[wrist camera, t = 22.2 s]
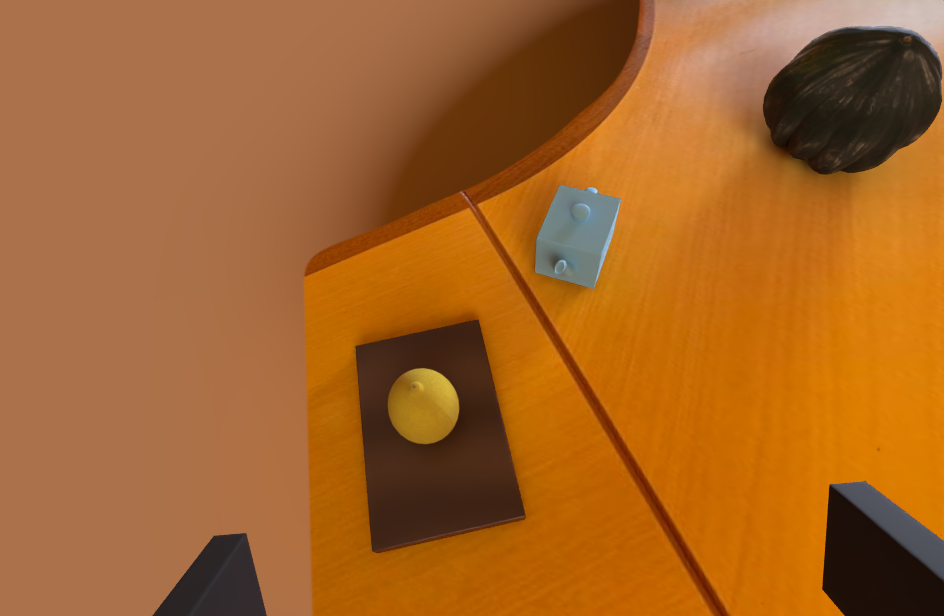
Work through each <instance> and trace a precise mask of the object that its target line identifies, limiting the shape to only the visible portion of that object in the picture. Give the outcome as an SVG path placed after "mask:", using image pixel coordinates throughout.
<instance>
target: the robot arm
mask: <svg viewBox="0 0 944 616" xmlns="http://www.w3.org/2000/svg"><path fill="white" fill-rule="evenodd" d="M822 589H823V591H824V592H825V593H826V594H827V595H828V597H829V598H830V599H831V600H832V601H833V602H834V604H835V605H836V606H837V607H838V608H839V609H840V611H841V612H842V613H843V614H844V615H845V616H944V541H943V540H942V539H940V538H939V537H938V536H936V535H935V534H934V533H933V532H931V531H930V530H929V529H927V528H926V527H925V526H923V525H922V524H921V523H919V522H918V521H917V520H915V519H914V518H913V517H912V516H910V515H909V514H908V513H906V512H905V511H904V510H902V509H901V508H900V507H898V506H897V505H896V504H894V503H893V502H892V501H890V500H889V499H888V498H887V497H885V496H884V495H883V494H881V493H880V492H879V491H877V490H876V489H875V488H873V487H872V486H871V485H869V484H868V483H867V482H866V481H865V482H853V483H841V484H830V485H829V500H828V514H827V529H826V543H825V558H824V572H823V587H822ZM153 616H267V615H266V611H265V608H264V603H263V599H262V595H261V591H260V587H259V583H258V579H257V575H256V571H255V567H254V563H253V559H252V555H251V551H250V547H249V543H248V539H247V535H246V533H242V534H231V535H219V536H213V538H212V539H211V540H210V542H209V543H208V544H207V545H206V547H205V548H204V549H203V551H202V552H201V553H200V555H199V556H198V557H197V559H196V560H195V561H194V562H193V564H192V565H191V566H190V568H189V569H188V570H187V572H186V573H185V574H184V575H183V577H182V578H181V579H180V581H179V582H178V583H177V585H176V586H175V587H174V589H173V590H172V591H171V592H170V594H169V595H168V596H167V598H166V599H165V600H164V601H163V603H162V604H161V605H160V607H159V608H158V609H157V611H156V612H155V613H154V615H153Z"/></svg>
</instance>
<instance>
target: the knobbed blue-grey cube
mask: <svg viewBox="0 0 944 616" xmlns="http://www.w3.org/2000/svg"><path fill="white" fill-rule="evenodd" d="M620 203H621V199H620V198H615V197H610V196H606V195H602V194H598V193H597V190H596V189H595V188H587V189H586V190H580V189H576V188H571V187H567V186H562V185H560V186H559V188H558V191H557V193H556V195H555V197H554V200H553V202H552V204H551V206H550V209H549V211H548V213H547V216H546V218H545V220H544V222H543V225H542V227H541V229H540V231H539V234H538V236H537V238H536V262H535V273H539V274H542V275H546V276H549V277H553V278H557V279H560V280H564V281H567V282H571V283H574V284H578V285H581V286H585V287H588V288H592V289H594V287H595V284H596V282H597V279H598V276H599V273H600V270H601V267H602V264H603V262H604V259H605V256H606V253H607V250H608V247H609V244H610V241H611V238H612V236H613V232H614V227H615V223H616V219H617V215H618V211H619V207H620Z"/></svg>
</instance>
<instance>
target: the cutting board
mask: <svg viewBox="0 0 944 616" xmlns="http://www.w3.org/2000/svg"><path fill="white" fill-rule="evenodd" d="M356 359H357V371H358V383H359V396H360V408H361V420H362V432H363V445H364V457H365V469H366V481H367V494H368V506H369V518H370V530H371V543H372V551H373V552H375V553H381V552H386V551H390V550H394V549H399V548H403V547H407V546H412V545H416V544H420V543H425V542H429V541H433V540H438V539H442V538H446V537H451V536H455V535H459V534H464V533H468V532H473V531H477V530H481V529H486V528H490V527H494V526H499V525H503V524H507V523H512V522H516V521H520V520H525V512H524V508H523V503H522V499H521V495H520V491H519V487H518V483H517V478H516V474H515V470H514V466H513V462H512V458H511V453H510V449H509V445H508V441H507V437H506V433H505V428H504V424H503V420H502V416H501V412H500V408H499V403H498V399H497V395H496V391H495V387H494V382H493V378H492V374H491V370H490V366H489V362H488V357H487V353H486V349H485V345H484V341H483V337H482V332H481V328H480V324H479V320H474V321H469V322H464V323H460V324H455V325H451V326H446V327H441V328H437V329H432V330H428V331H423V332H419V333H414V334H409V335H405V336H400V337H396V338H391V339H386V340H382V341H377V342H373V343H368V344H363V345H359V346H356ZM420 368H425V369H431V370H434V371H436V372H438V373H440V374H442V375H443V376H444V377H445V378H446V379H448V380H449V382H450V383H451V384H452V386H453V387H454V389H455V391H456V393H457V396H458V399H459V414H458V420H457V422H456V424H455V426H454V428H453V429H452V430H451V432H450V433H449V434H448V435H447V436H446V437H444V438H443V439H442V440H439V441H437V442H435V443H430V444H419V443H415V442H412V441H409V440H407V439H406V438H404V437H403V436H402V435H400V434H399V432H398V431H397V430H396V429H395V427H394V426H393V424H392V422H391V419H390V417H389V412H388V397H389V393H390V390H391V388H392V386H393V384H394V383H395V382H396V380H397V379H398V378H399V377H400V376H401V375H403V374H404V373H406V372H408V371H410V370H414V369H420Z"/></svg>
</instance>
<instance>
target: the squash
mask: <svg viewBox="0 0 944 616" xmlns="http://www.w3.org/2000/svg"><path fill="white" fill-rule="evenodd" d="M941 80H942V66H941V61H940V58H939V56H938V54H937V52H936V51H935V50H934V49H933V47H932V46H931V45H930V43H928V42H927V41H926V40H925V39H924V38H923V37H921V36H920V35H919V34H918V33H916V32H914V31H912V30H908V29H904V28H900V27H891V26H878V27H864V26H857V27H845V28H840V29H836V30H832V31H829V32H827V33H825V34H823V35H821V36H819V37H817V38H815V39H814V40H812V41H811V42H810V43H809V44H808V45H807V46H805V47H804V48H803V49H802V50H801V51H800V52H799V53H798V54H797V55H796V56H795V58H794V59H793V60H792V61H791V62H790V63H789V64H788V65H786V66H785V67H784V68H783V69H782V70H781V71H780V72H779V73H778V74H777V75H776V76H775V77H774V78H773V80H772V81H771V83H770V84H769V87H768V89H767V92H766V94H765V97H764V104H763V113H764V117H765V121H766V124H767V126H768V127H769V128H770V129H771V138H772V140H773V142H774V144H776V145H777V146H779V147H783V148H786V147H788V150H789V153H790V154H791V155H792V156H793V157H794V158H797V159H805V158H807V162H808V164H809V165H810V167H811V168H812V169H813V170H814V171H816V172H817V173H819V174H831V173H834V172H837V171H840V170H842V171H844V172H847V173H856V172H861V171H865V170H869V169H872V168H875V167H877V166H879V165H880V164H882V163H883V162H884V161H886V160H887V159H888V158H889V157H891V156H892V155H893V154H894V153H895V152H896V151H897V150H898V149H901V148H903V147H905V146H908V145H909V144H911V143H913V142H914V141H916V140H917V139H918V138H919V137H920V136H921V135H922V134H924V133H925V131H926V130H927V129H928V128H929V127H930V125H931V124H932V122H933V121H934V119H935V117H936V116H937V114H938V112H939V109H940V106H941V102H942V91H941Z"/></svg>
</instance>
